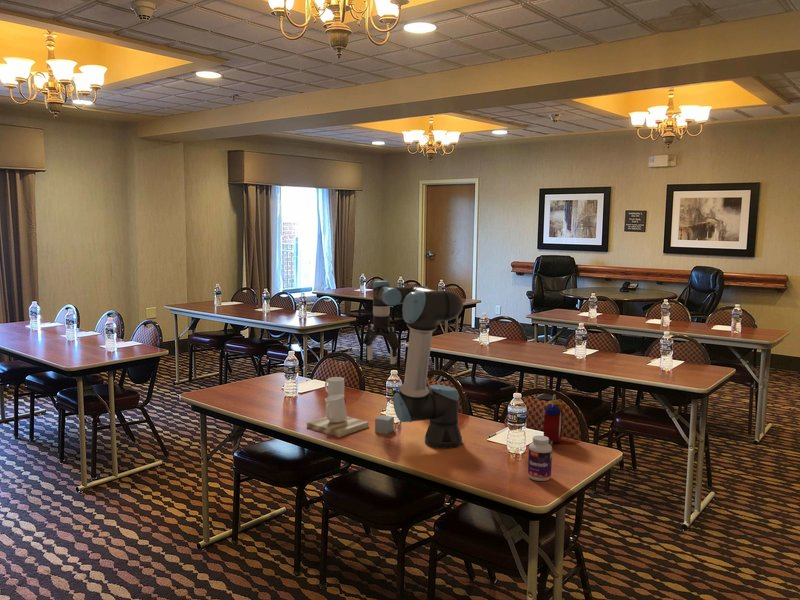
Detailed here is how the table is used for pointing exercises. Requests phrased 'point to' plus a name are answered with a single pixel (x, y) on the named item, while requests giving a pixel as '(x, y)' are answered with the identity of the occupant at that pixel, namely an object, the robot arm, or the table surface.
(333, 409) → the mug
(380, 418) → the grey cube
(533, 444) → the pill bottle
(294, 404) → the table surface
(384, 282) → the robot arm
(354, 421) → the birch slab
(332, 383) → the cup
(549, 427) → the red spray bottle
